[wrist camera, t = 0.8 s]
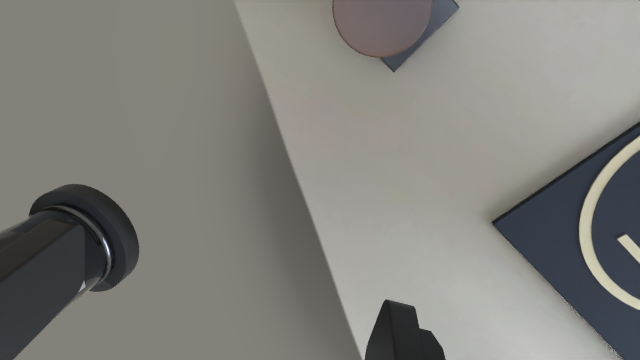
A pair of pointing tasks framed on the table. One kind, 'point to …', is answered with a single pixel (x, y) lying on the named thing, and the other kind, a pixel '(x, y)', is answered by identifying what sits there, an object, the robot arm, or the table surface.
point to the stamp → (390, 25)
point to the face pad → (590, 239)
